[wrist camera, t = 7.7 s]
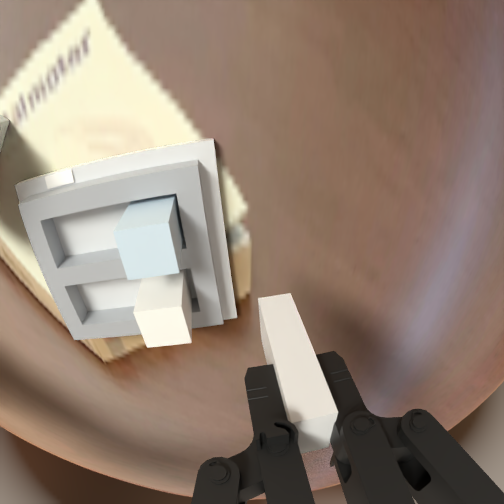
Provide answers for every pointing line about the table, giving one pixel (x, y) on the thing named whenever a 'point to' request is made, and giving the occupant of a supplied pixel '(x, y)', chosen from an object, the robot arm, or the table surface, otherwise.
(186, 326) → the ivory tab
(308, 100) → the table surface
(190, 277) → the switch bank
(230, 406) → the table surface
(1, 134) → the ink box
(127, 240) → the pale blue block
